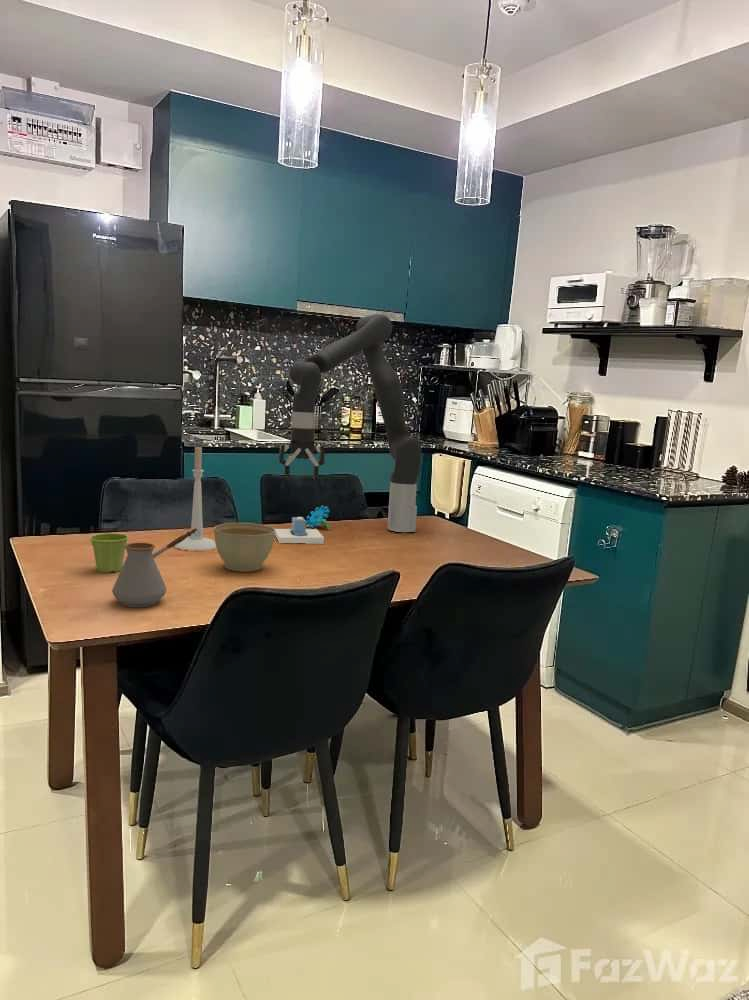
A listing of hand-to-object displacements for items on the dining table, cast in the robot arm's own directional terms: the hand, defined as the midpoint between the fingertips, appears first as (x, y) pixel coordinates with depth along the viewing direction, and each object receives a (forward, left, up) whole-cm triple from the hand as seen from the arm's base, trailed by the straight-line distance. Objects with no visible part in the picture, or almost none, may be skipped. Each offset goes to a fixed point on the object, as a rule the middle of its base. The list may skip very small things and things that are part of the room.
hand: (301, 477), depth 233 cm
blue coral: (-9, -18, -20) cm, 29 cm away
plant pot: (+54, +37, -20) cm, 69 cm away
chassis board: (0, +1, -20) cm, 20 cm away
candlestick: (+32, +11, -20) cm, 39 cm away
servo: (0, 0, -20) cm, 20 cm away
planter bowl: (+20, +36, -20) cm, 46 cm away
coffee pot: (+41, +62, -20) cm, 77 cm away
